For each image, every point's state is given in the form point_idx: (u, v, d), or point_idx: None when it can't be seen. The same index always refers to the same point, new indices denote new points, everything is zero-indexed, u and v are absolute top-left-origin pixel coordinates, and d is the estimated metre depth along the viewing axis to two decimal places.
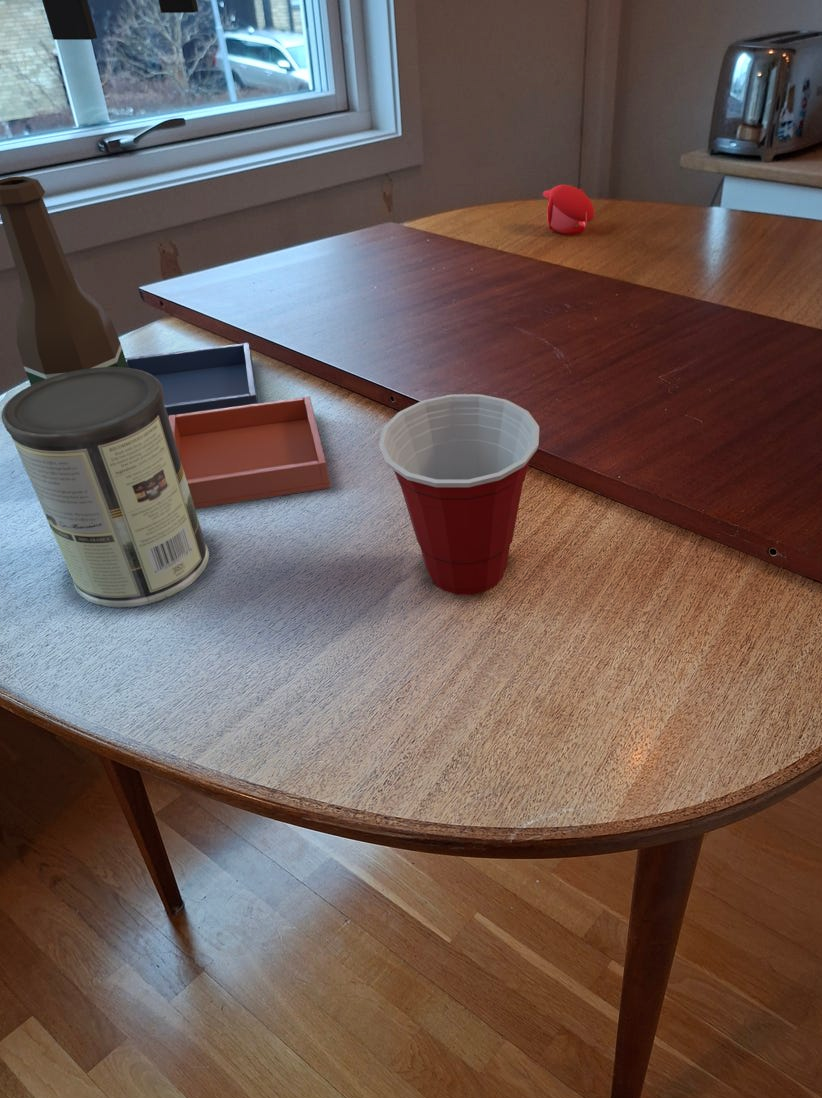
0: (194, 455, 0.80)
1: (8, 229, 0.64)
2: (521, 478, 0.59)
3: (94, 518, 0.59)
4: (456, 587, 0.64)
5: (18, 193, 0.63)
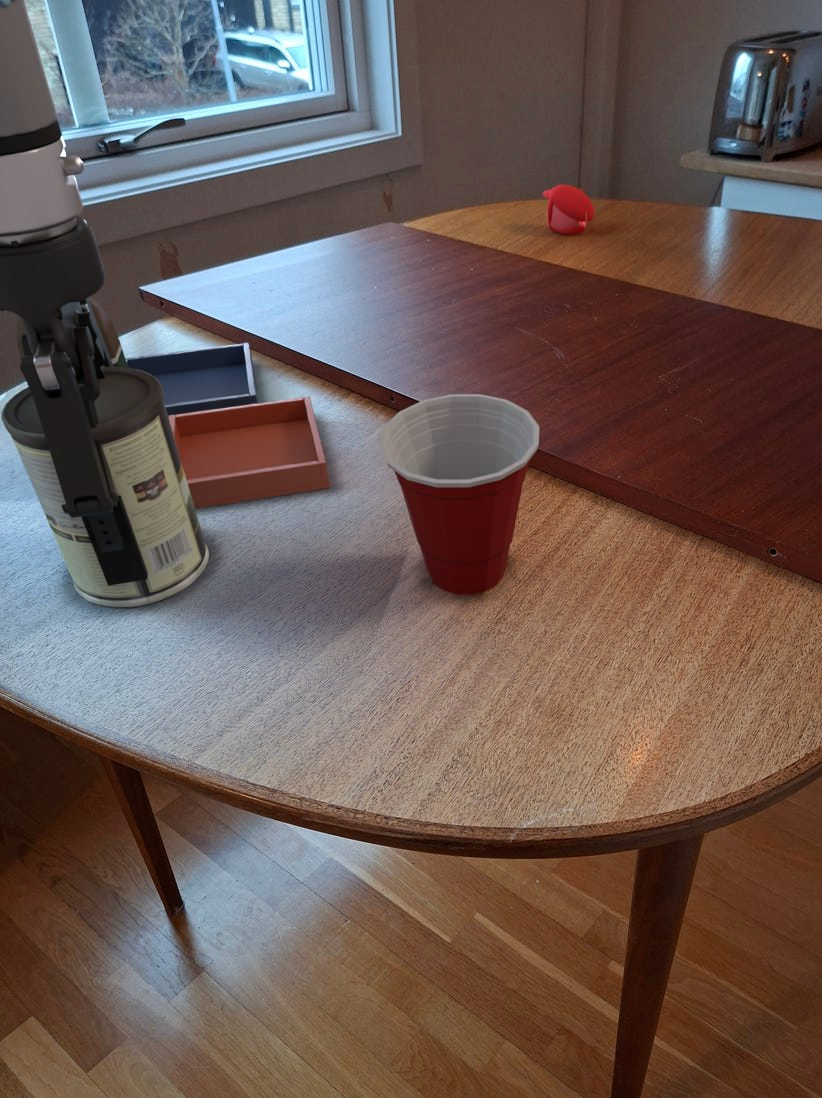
0: (194, 455, 0.80)
1: None
2: (521, 478, 0.59)
3: None
4: (456, 587, 0.64)
5: None
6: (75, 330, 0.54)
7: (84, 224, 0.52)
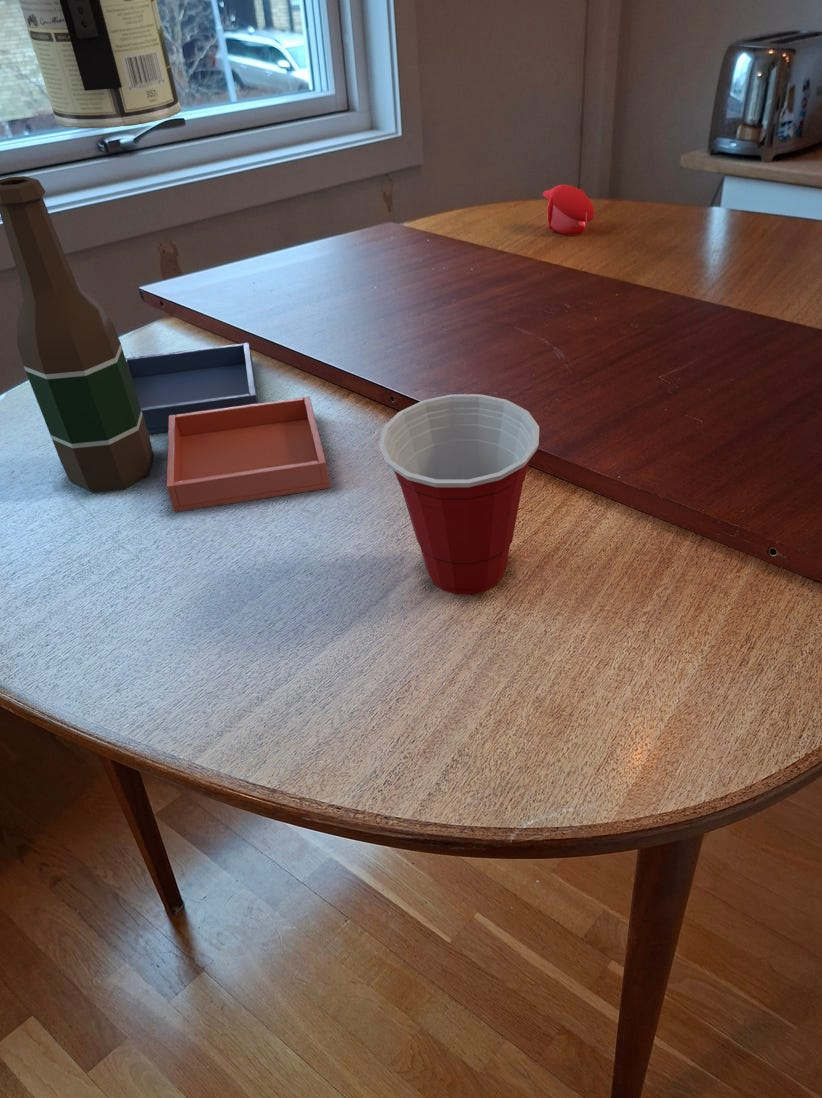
0: (194, 455, 0.80)
1: (8, 229, 0.64)
2: (521, 478, 0.59)
3: None
4: (456, 587, 0.64)
5: (18, 193, 0.63)
6: None
7: None
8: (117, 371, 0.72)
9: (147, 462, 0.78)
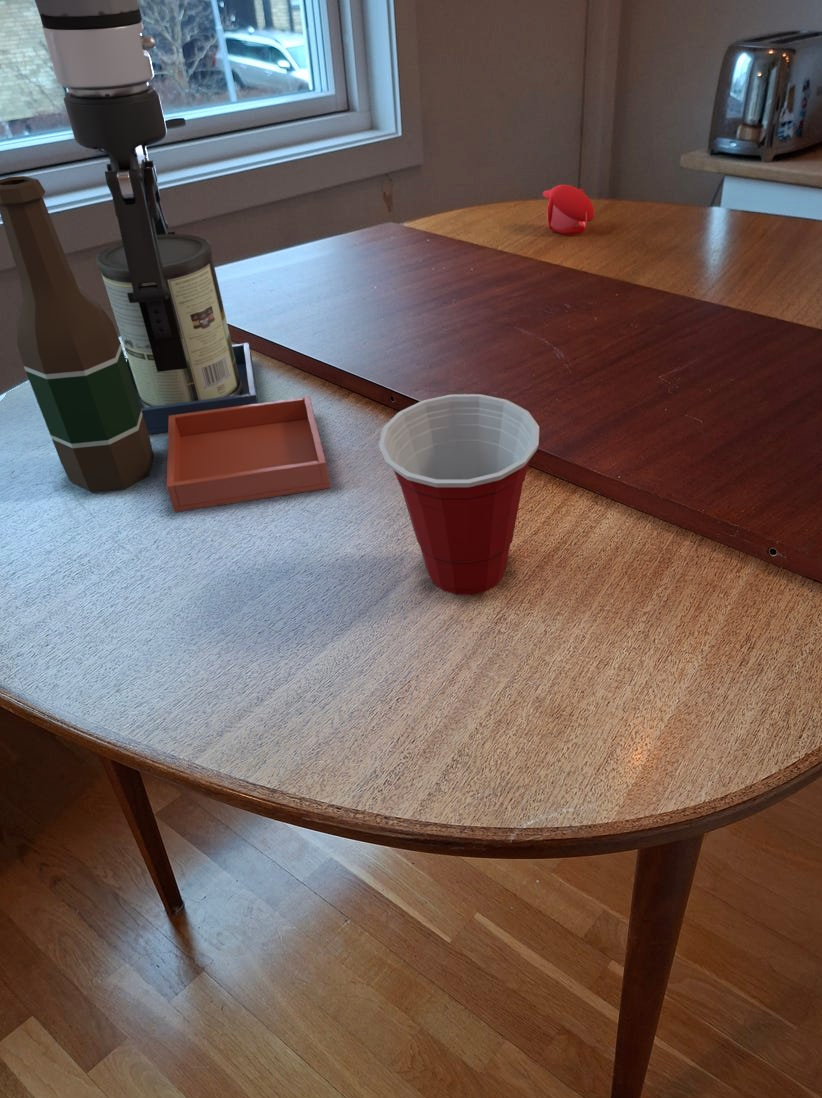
0: (194, 455, 0.80)
1: (8, 229, 0.64)
2: (521, 478, 0.59)
3: None
4: (456, 587, 0.64)
5: (18, 193, 0.63)
6: (144, 169, 0.75)
7: (154, 88, 0.72)
8: (118, 371, 0.72)
9: (147, 462, 0.78)
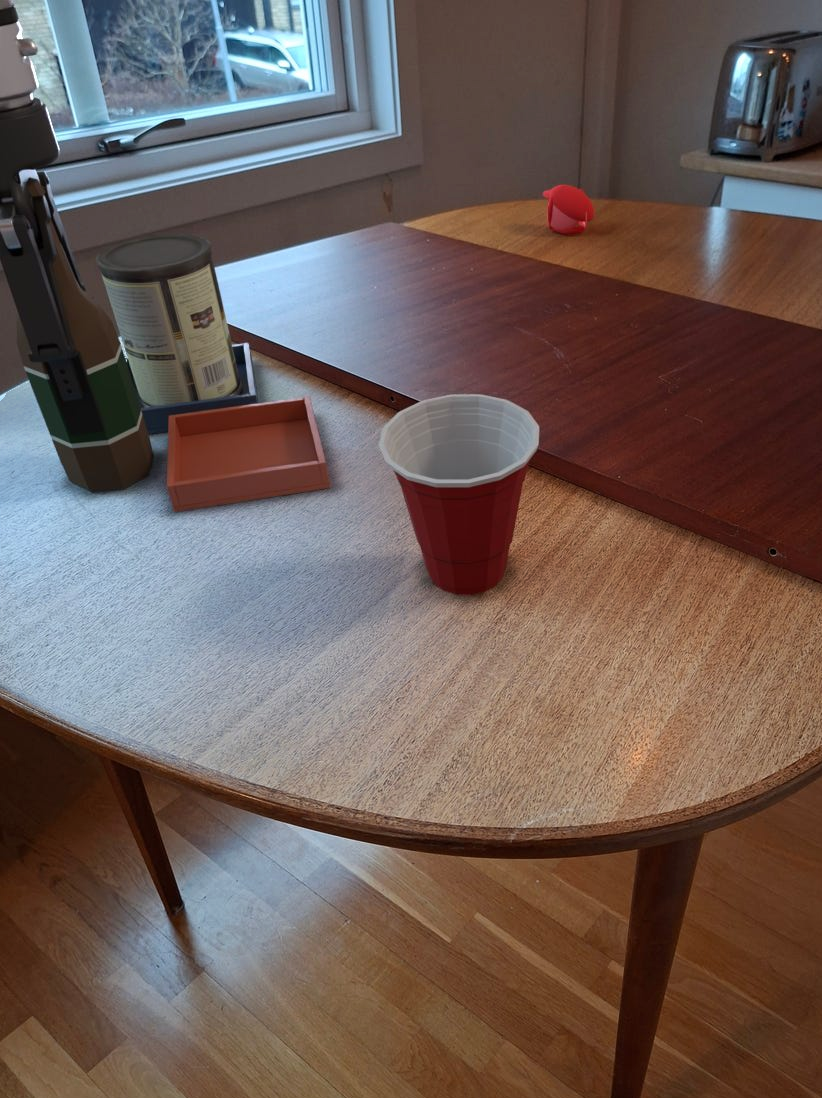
0: (194, 455, 0.80)
1: None
2: (521, 478, 0.59)
3: (162, 339, 0.81)
4: (456, 587, 0.64)
5: None
6: (33, 198, 0.63)
7: (39, 102, 0.61)
8: (117, 371, 0.72)
9: (147, 462, 0.78)
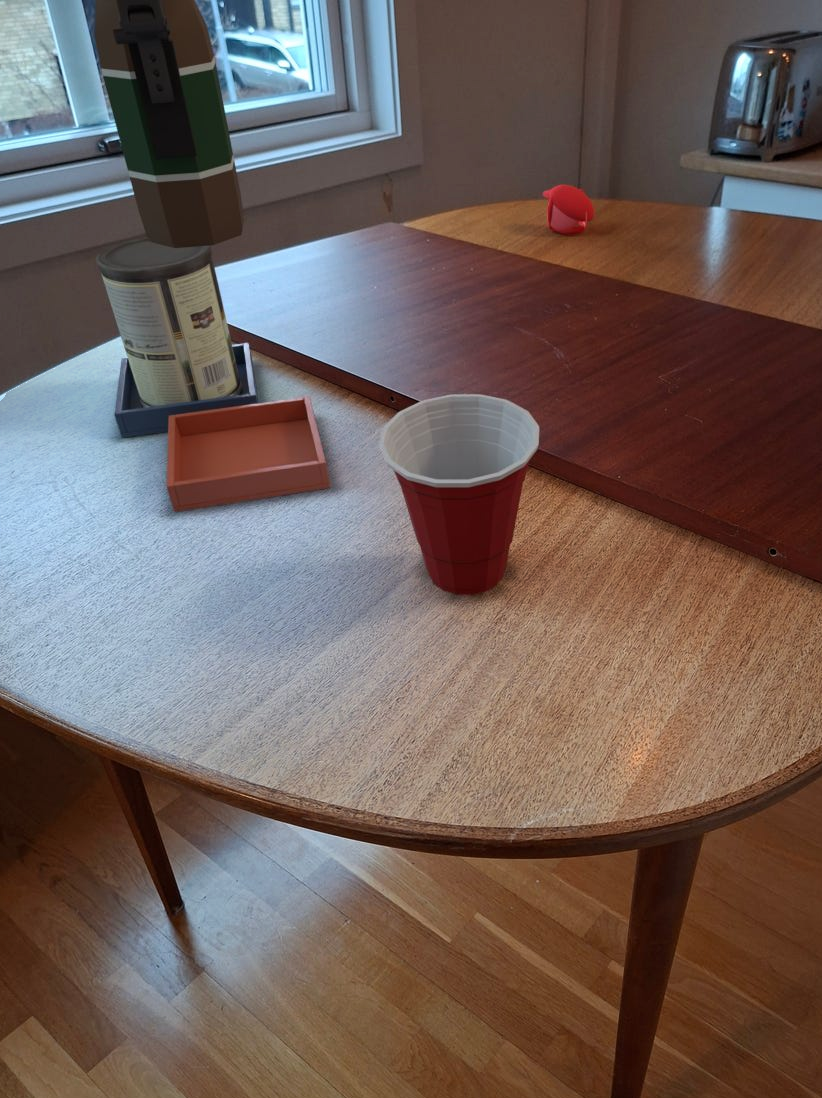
0: (194, 455, 0.80)
1: None
2: (521, 478, 0.59)
3: (162, 339, 0.81)
4: (456, 587, 0.64)
5: None
6: None
7: None
8: (213, 82, 0.59)
9: (240, 216, 0.65)
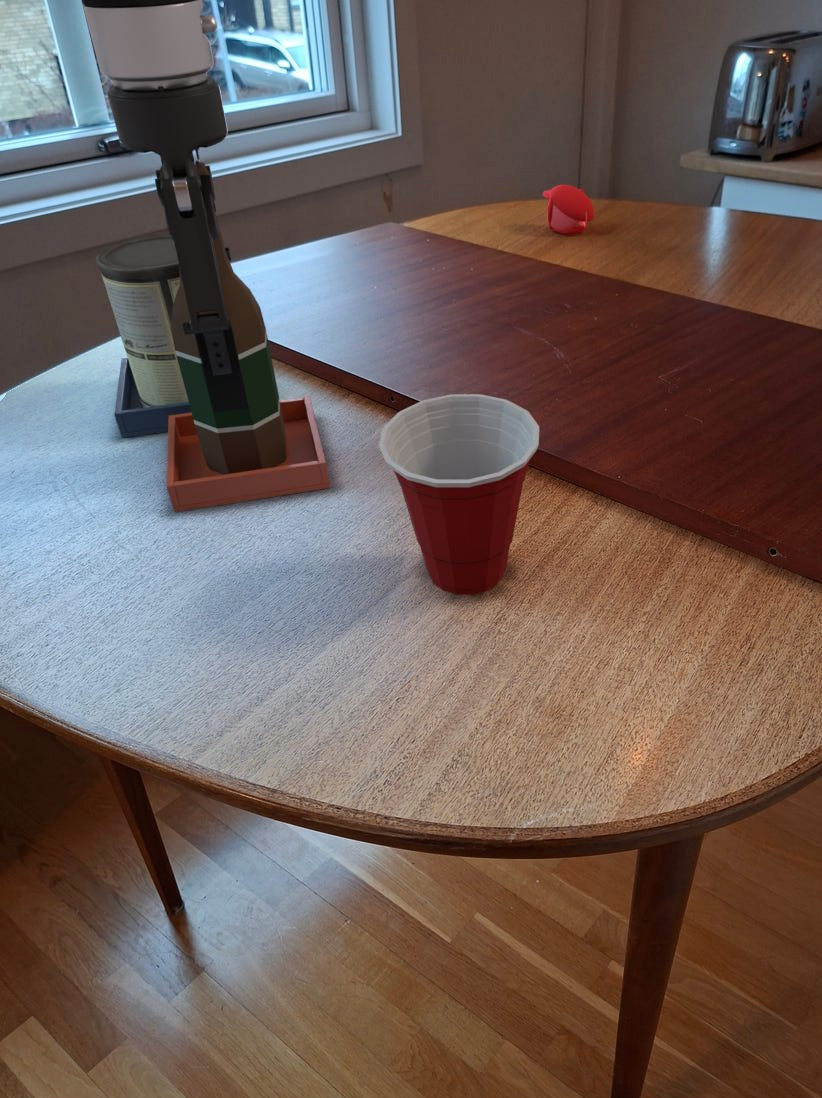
0: (194, 455, 0.80)
1: None
2: (521, 478, 0.59)
3: (162, 339, 0.81)
4: (456, 587, 0.64)
5: None
6: (201, 176, 0.63)
7: (213, 79, 0.61)
8: (266, 356, 0.72)
9: (284, 448, 0.78)
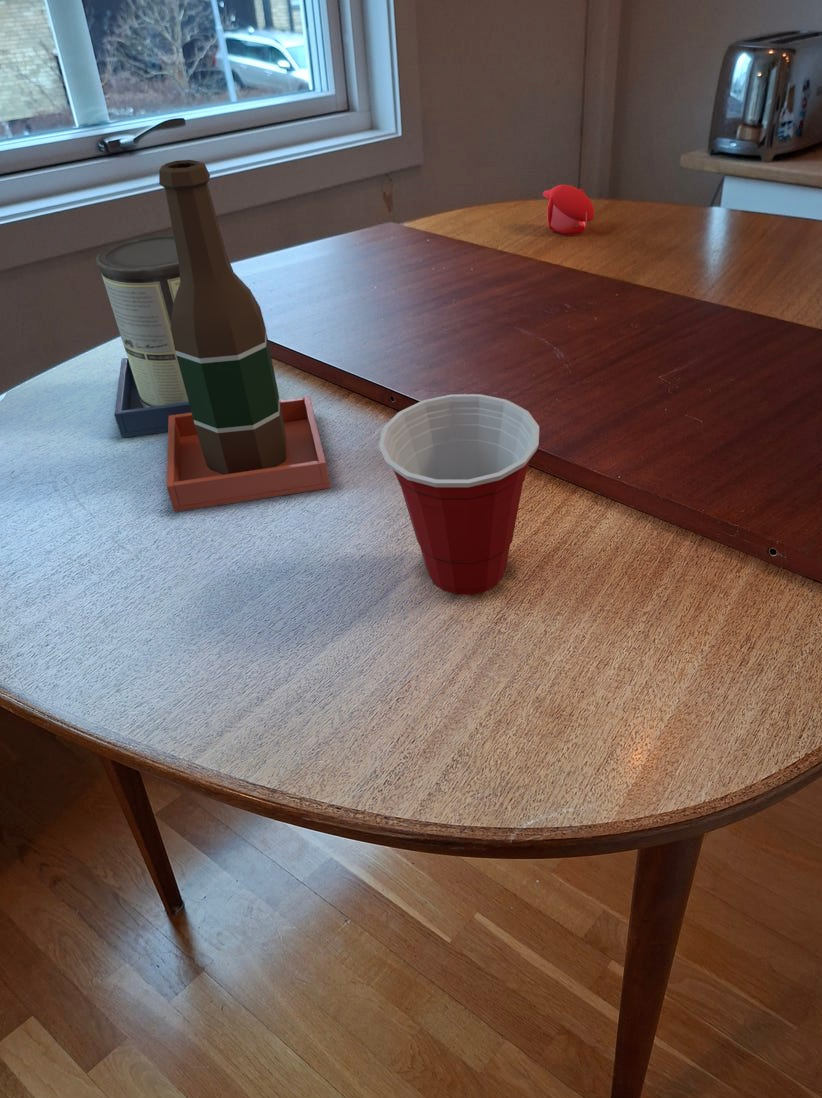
0: (194, 455, 0.80)
1: (174, 212, 0.65)
2: (521, 478, 0.59)
3: (162, 339, 0.81)
4: (456, 587, 0.64)
5: (189, 176, 0.63)
6: None
7: None
8: (266, 356, 0.72)
9: (284, 448, 0.78)
